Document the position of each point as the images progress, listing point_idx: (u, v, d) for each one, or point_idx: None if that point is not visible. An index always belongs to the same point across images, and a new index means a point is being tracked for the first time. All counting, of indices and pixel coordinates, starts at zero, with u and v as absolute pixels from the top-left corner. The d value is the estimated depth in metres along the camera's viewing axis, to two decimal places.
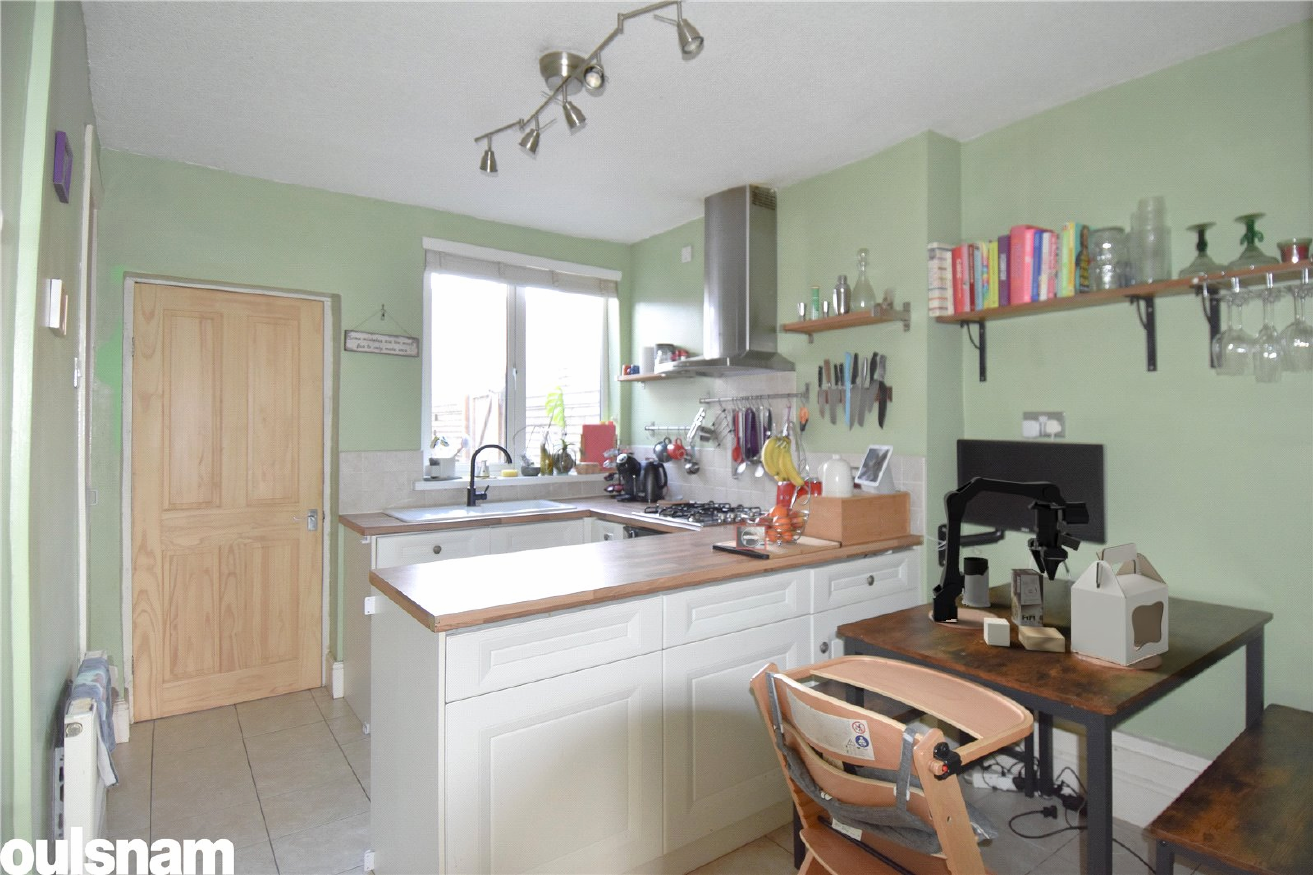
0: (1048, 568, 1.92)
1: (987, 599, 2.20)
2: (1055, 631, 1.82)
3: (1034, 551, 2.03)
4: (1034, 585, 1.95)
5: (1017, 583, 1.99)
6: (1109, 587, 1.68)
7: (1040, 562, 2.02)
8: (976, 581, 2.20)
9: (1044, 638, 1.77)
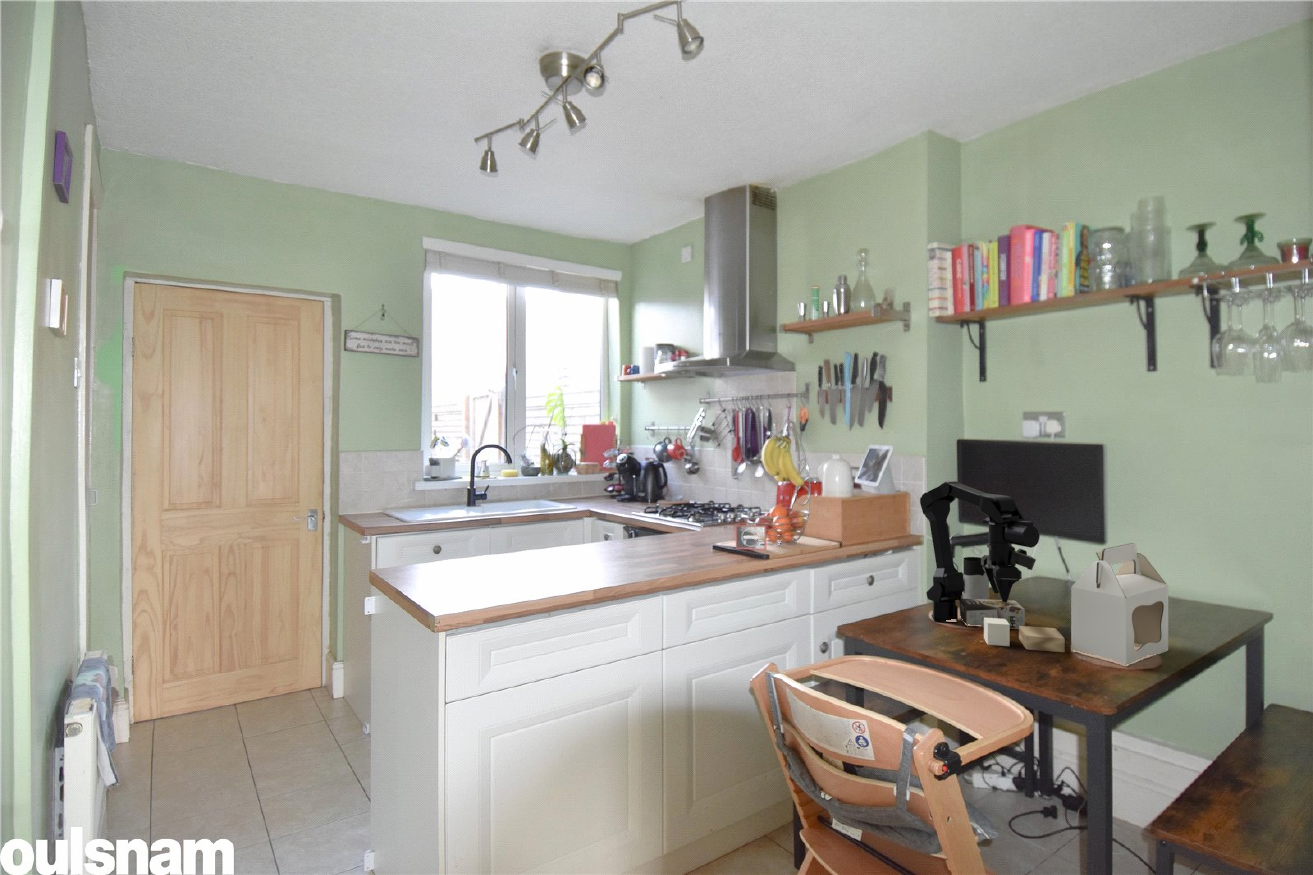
0: (1001, 589, 1.80)
1: (987, 599, 2.20)
2: (1055, 631, 1.82)
3: (987, 569, 1.91)
4: (977, 614, 1.98)
5: None
6: (1109, 587, 1.68)
7: (994, 581, 1.90)
8: (976, 581, 2.20)
9: (1044, 638, 1.77)
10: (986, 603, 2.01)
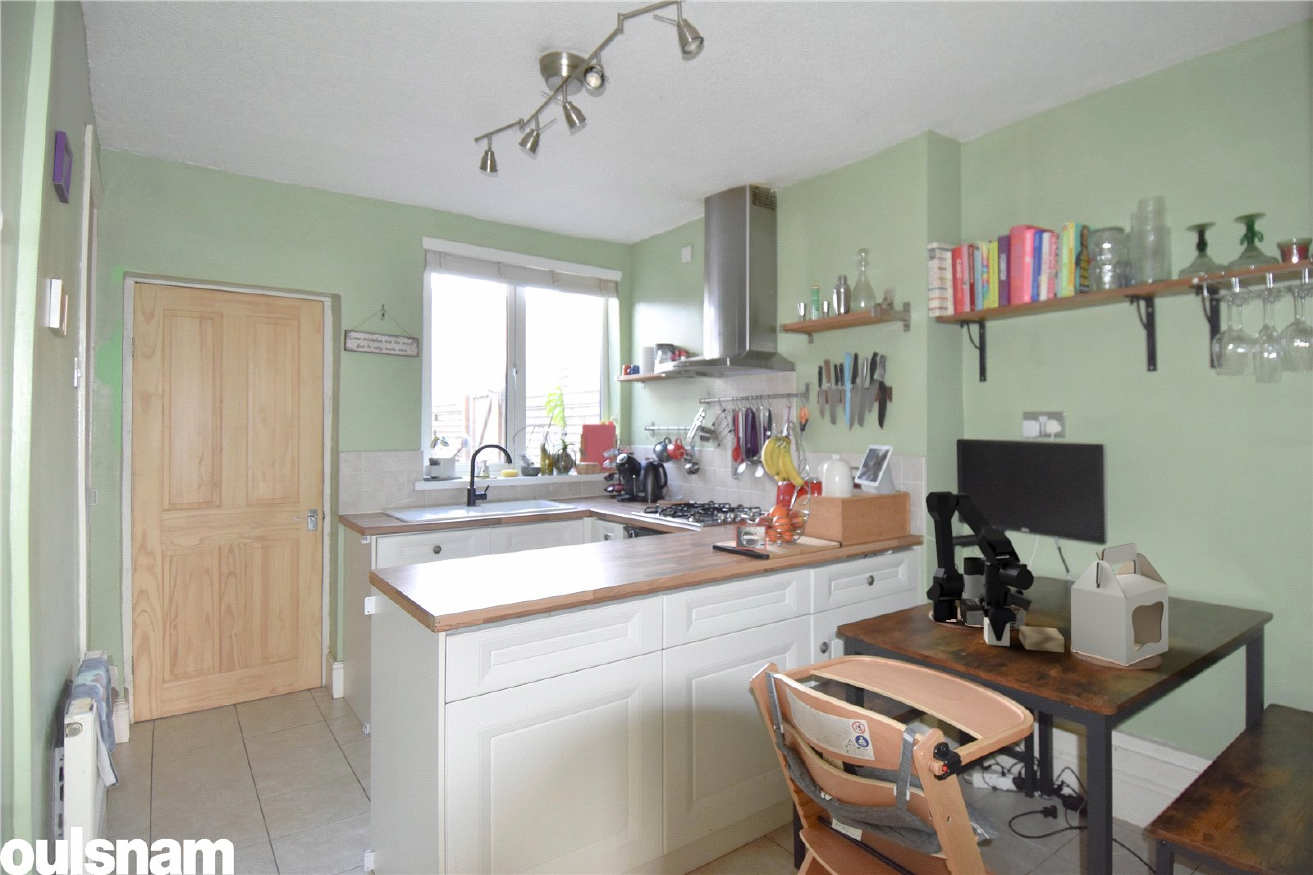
0: (995, 628, 1.81)
1: None
2: (1055, 631, 1.82)
3: (985, 610, 1.88)
4: (977, 615, 1.97)
5: None
6: (1109, 587, 1.68)
7: None
8: (976, 581, 2.20)
9: (1043, 638, 1.77)
10: None
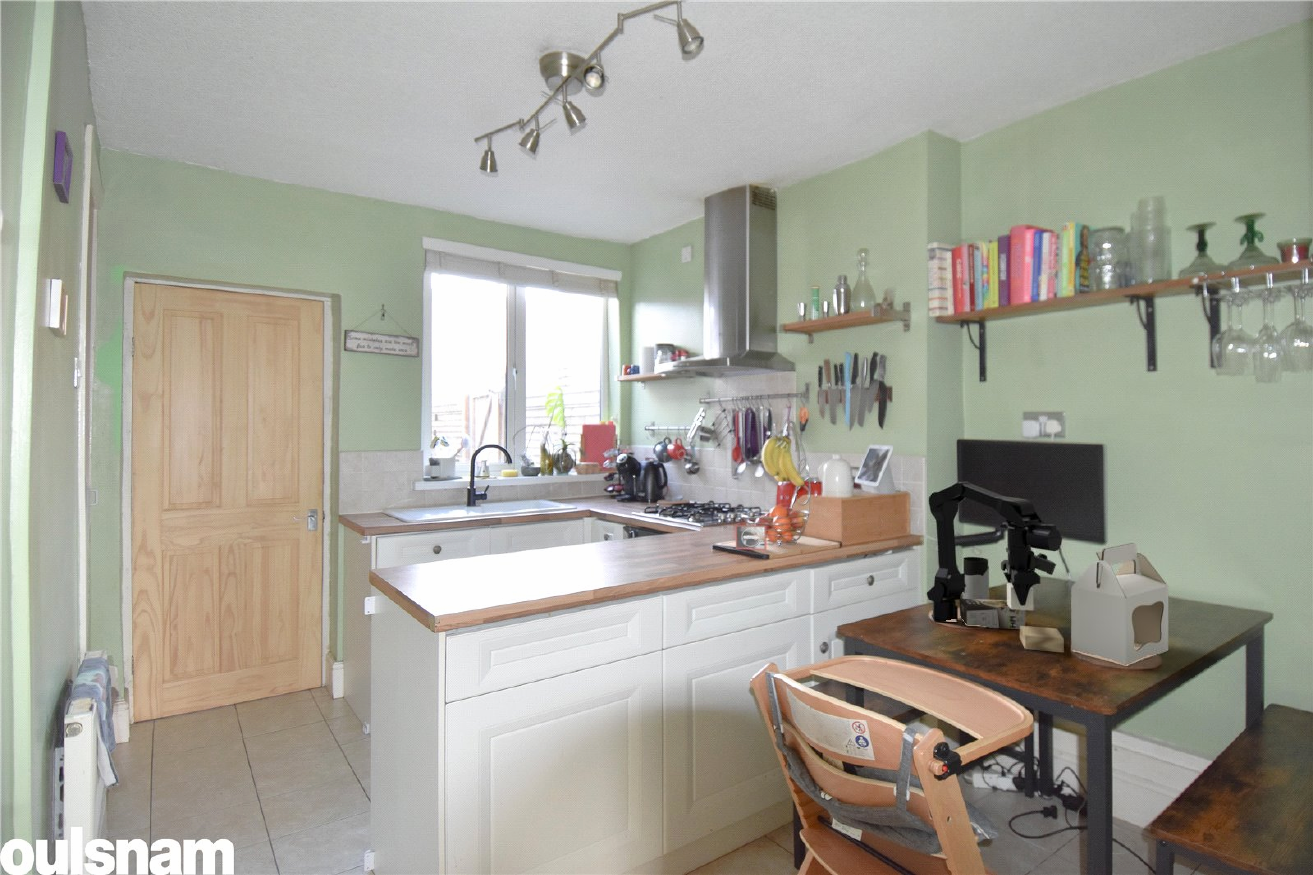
0: (1018, 592, 1.79)
1: (987, 599, 2.20)
2: (1056, 631, 1.81)
3: (1008, 576, 1.86)
4: (977, 615, 1.98)
5: None
6: (1109, 587, 1.68)
7: None
8: (976, 581, 2.20)
9: (1042, 638, 1.77)
10: (986, 603, 2.01)
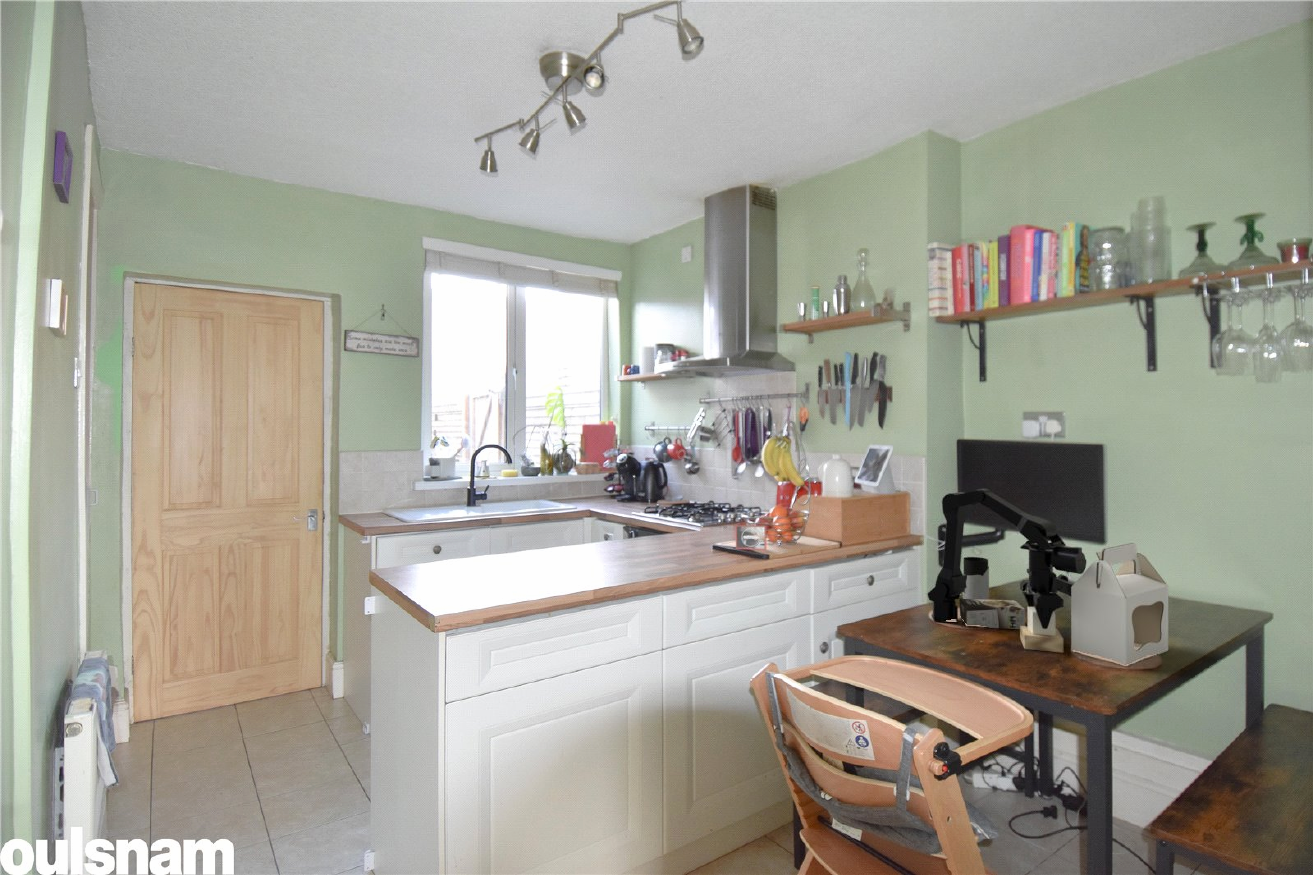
0: (1041, 615, 1.77)
1: (987, 599, 2.20)
2: (1056, 632, 1.81)
3: (1028, 596, 1.86)
4: (977, 615, 1.98)
5: None
6: (1109, 587, 1.68)
7: None
8: (976, 581, 2.20)
9: (1042, 638, 1.78)
10: (986, 603, 2.01)
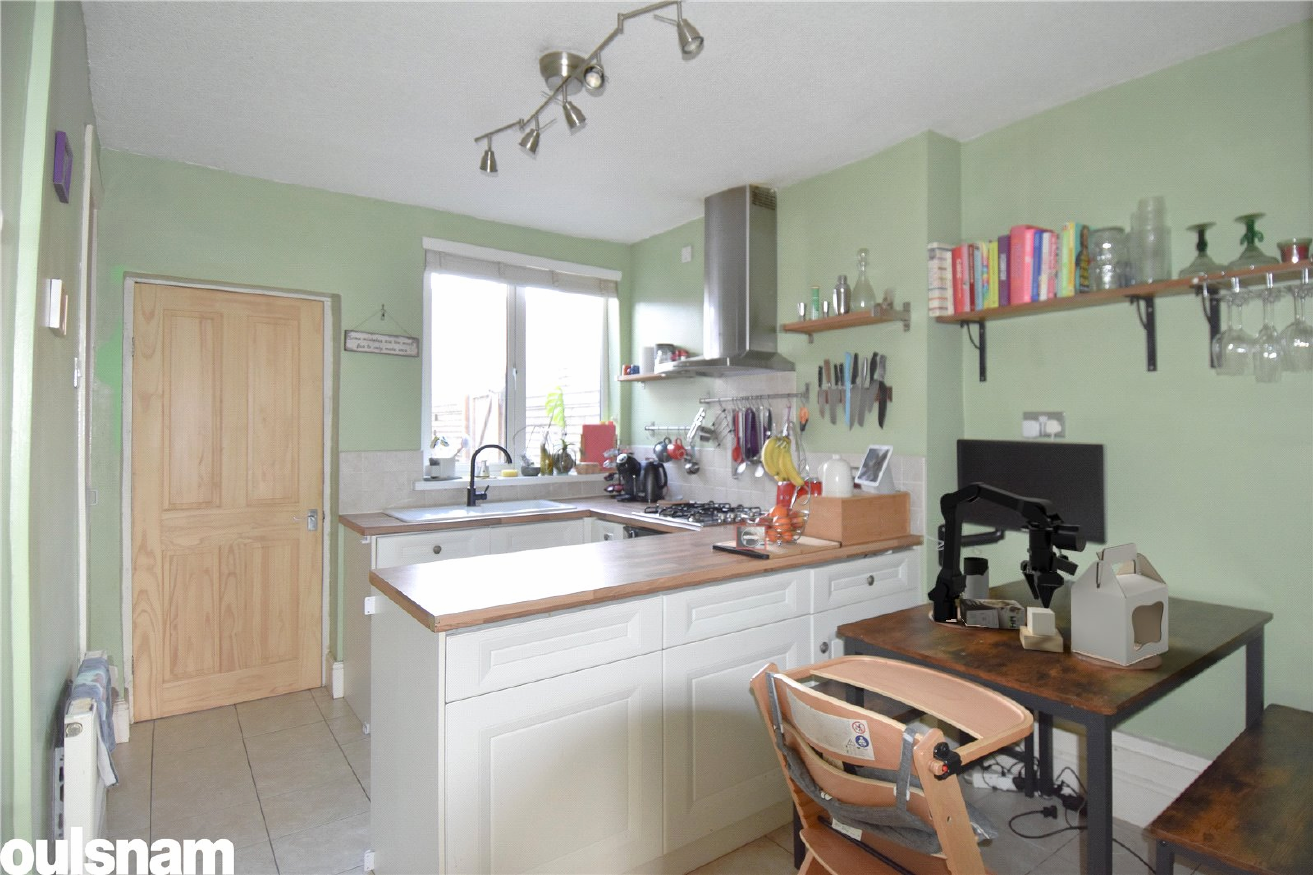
0: (1042, 595, 1.76)
1: (987, 599, 2.20)
2: (1055, 632, 1.81)
3: (1027, 575, 1.87)
4: (977, 615, 1.98)
5: None
6: (1109, 587, 1.68)
7: (1034, 587, 1.86)
8: (976, 581, 2.20)
9: (1042, 638, 1.78)
10: (986, 603, 2.01)
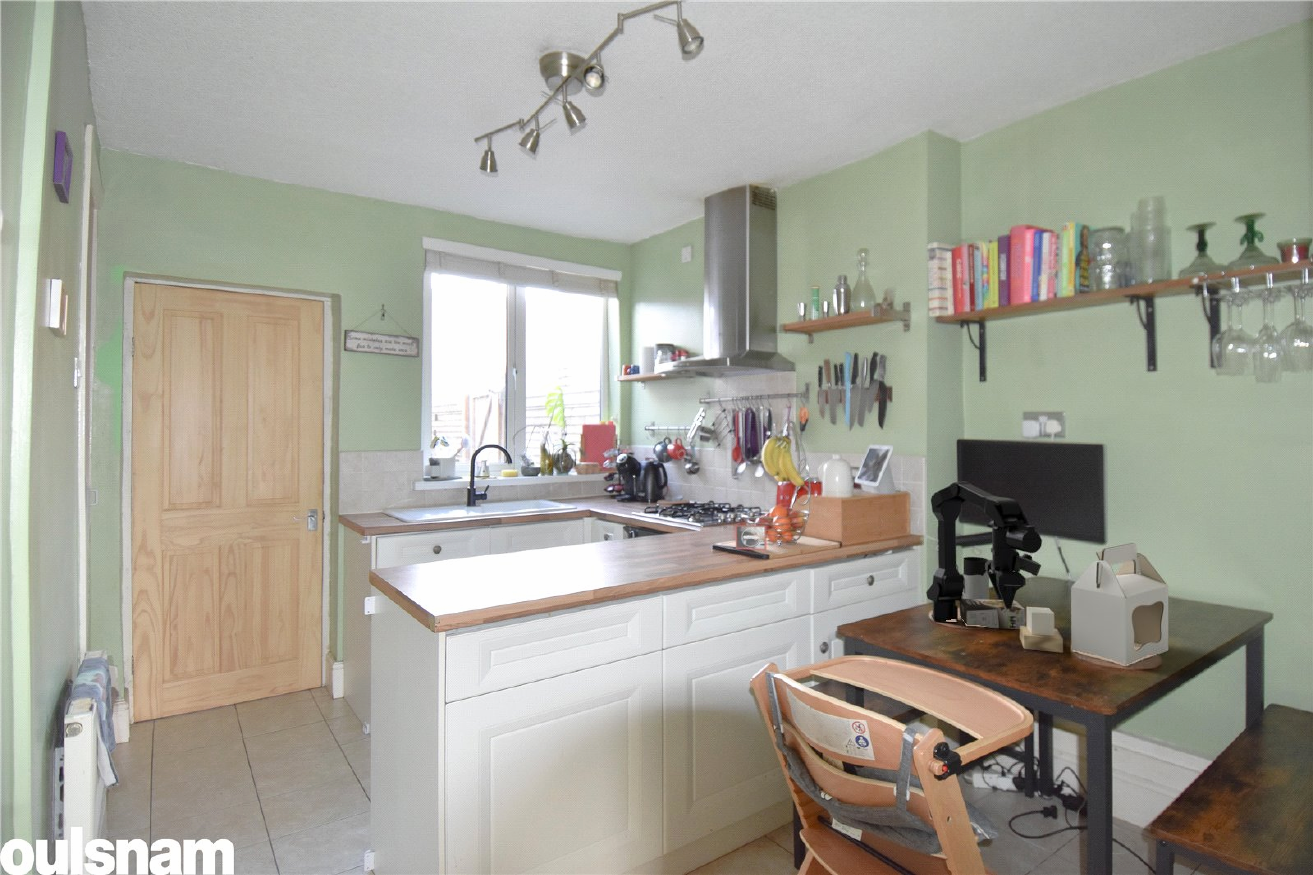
0: (1004, 595, 1.74)
1: (987, 599, 2.20)
2: (1055, 632, 1.81)
3: (992, 575, 1.85)
4: (977, 615, 1.98)
5: None
6: (1109, 587, 1.68)
7: (998, 587, 1.84)
8: (976, 581, 2.20)
9: (1042, 638, 1.78)
10: (986, 603, 2.01)
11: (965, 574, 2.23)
